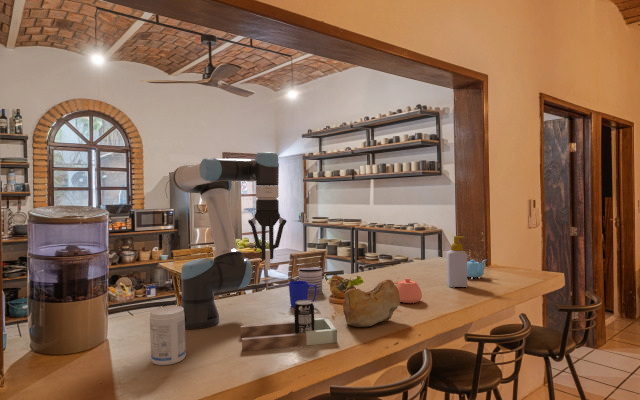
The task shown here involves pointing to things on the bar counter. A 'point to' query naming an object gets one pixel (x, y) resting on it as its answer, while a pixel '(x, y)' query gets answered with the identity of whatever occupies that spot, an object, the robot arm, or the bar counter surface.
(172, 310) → the supplement tub
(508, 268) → the bar counter surface
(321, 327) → the pale grey box
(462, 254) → the soap bottle
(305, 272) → the can
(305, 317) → the beverage can
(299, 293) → the mug
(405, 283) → the sugar bowl
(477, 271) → the teapot
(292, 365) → the bar counter surface
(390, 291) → the rough brown rock
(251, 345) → the trough
